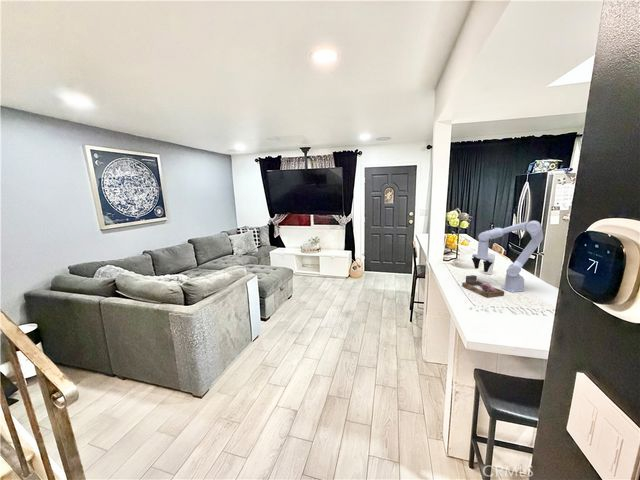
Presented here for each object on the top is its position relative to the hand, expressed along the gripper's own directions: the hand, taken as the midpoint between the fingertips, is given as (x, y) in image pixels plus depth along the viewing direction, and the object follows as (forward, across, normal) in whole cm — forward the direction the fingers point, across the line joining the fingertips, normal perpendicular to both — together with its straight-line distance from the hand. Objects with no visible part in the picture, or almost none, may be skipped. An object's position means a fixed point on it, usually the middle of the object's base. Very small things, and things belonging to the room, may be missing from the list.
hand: (481, 270), depth 170 cm
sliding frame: (+9, +11, -9) cm, 17 cm away
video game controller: (+10, +15, -8) cm, 19 cm away
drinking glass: (+10, -16, +22) cm, 29 cm away
